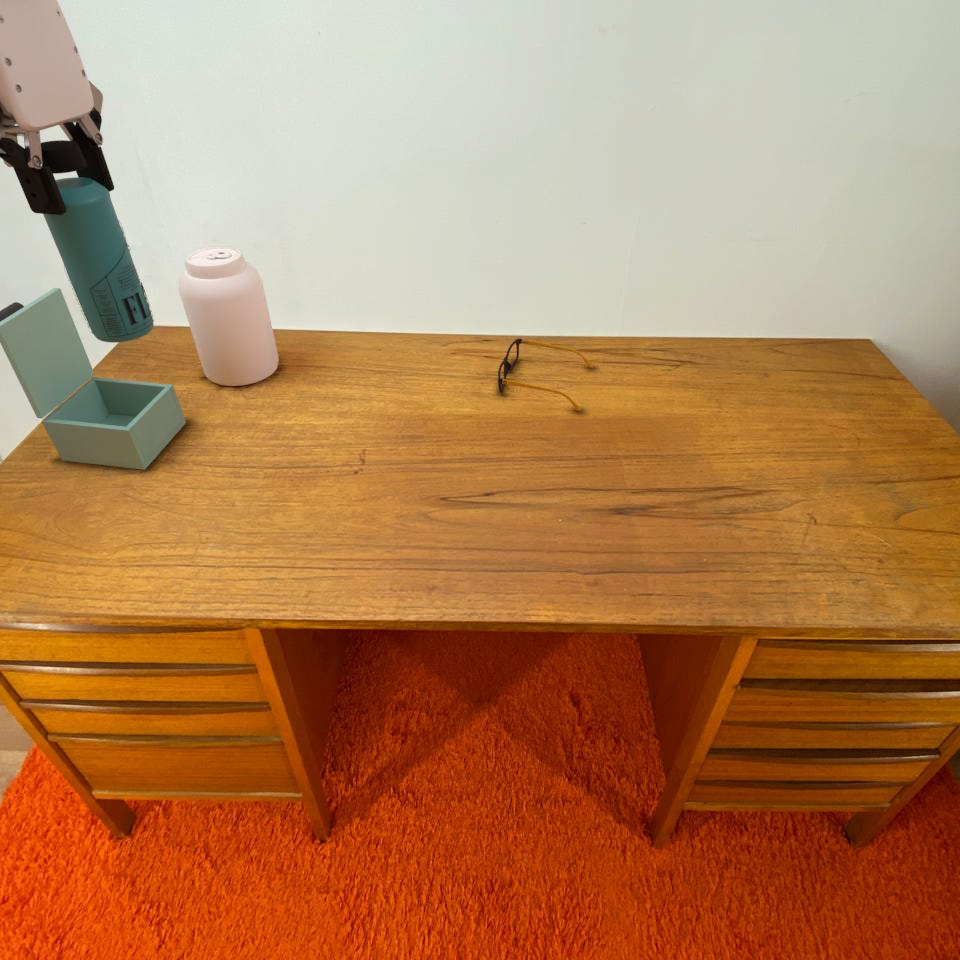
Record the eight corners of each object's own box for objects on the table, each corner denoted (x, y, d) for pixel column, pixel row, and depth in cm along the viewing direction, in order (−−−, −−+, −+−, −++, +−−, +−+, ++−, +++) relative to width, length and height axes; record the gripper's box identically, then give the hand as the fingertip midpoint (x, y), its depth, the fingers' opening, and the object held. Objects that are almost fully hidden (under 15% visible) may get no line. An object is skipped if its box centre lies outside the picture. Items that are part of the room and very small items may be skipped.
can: (264, 344, 117) (239, 233, 104) (291, 373, 109) (268, 258, 96) (194, 363, 111) (159, 249, 98) (218, 396, 103) (183, 276, 90)
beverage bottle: (145, 357, 68) (71, 152, 55) (84, 355, 68) (-4, 150, 56) (170, 329, 73) (107, 135, 60) (113, 327, 73) (38, 133, 61)
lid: (60, 288, 86) (20, 283, 86) (-2, 327, 77) (-47, 322, 77) (94, 374, 94) (58, 369, 95) (42, 418, 86) (2, 413, 86)
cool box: (186, 422, 98) (173, 384, 93) (144, 470, 89) (128, 430, 84) (110, 414, 99) (93, 376, 95) (61, 460, 90) (41, 421, 86)
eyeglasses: (512, 356, 115) (513, 336, 112) (592, 368, 112) (595, 347, 109) (492, 398, 104) (493, 376, 102) (580, 412, 101) (583, 391, 99)
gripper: (21, -42, 57) (95, 174, 68) (-159, -39, 44) (-29, 228, 55) (98, -40, 56) (161, 178, 67) (-61, -36, 43) (50, 234, 54)
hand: (75, 199), depth 61 cm, fingers closed on beverage bottle, 6 cm apart
